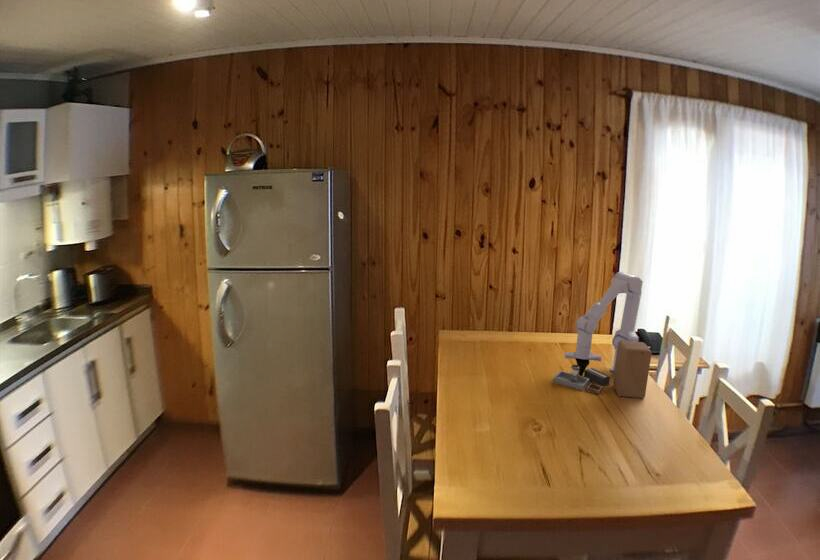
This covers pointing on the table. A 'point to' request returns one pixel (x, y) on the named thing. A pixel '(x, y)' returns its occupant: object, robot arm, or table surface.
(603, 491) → the table surface
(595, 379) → the block
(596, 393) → the collar
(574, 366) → the pin
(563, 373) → the tray
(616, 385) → the wooden block
